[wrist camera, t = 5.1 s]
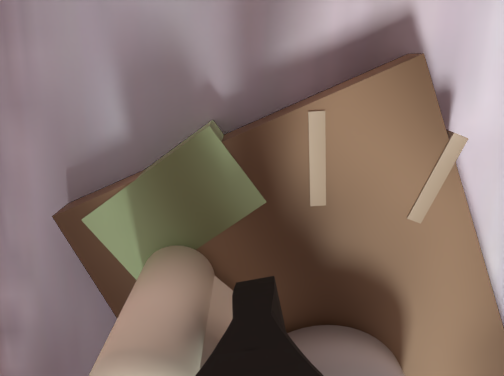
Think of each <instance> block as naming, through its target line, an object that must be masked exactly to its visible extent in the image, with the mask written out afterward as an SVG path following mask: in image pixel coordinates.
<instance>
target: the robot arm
mask: <svg viewBox="0 0 504 376" xmlns="http://www.w3.org/2000/svg"><path fill="white" fill-rule="evenodd" d="M232 312H233V319H232V321H231V323H230V324H229V326H228V328H227V330H226V331H225V333H224V335H223V336H222V338H221V339H220V341H219V343H218V344H217V346H216V347H215V349H214V351H213V352H212V354H211V355H210V356H209V358H208V359H207V361H206V362H205V363H204V365H203V366H202V368H201V369H200V370H199V371H198V373H197V374H196V375H195V376H324V375H323V374H322V373H321V372H320V371H319V370H318V369H317V368H316V367H315V366H314V365H313V364H312V363H311V362H310V361H309V360H308V359H307V357H306V356H305V355H304V354H303V353H302V352H301V351H300V349H299V348H298V347H297V346H296V344H295V343H294V342H293V340H292V339H291V338H290V336H289V335H288V334H287V332H286V329H285V324H284V319H283V314H282V310H281V305H280V300H279V296H278V291H277V286H276V282H275V277H274V276H270V277H264V278H259V279H253V280H248V281H242V282H237V283H236V284H235V287H234V290H233V294H232Z"/></svg>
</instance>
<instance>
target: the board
mask: <svg viewBox="0 0 504 376" xmlns="http://www.w3.org/2000/svg"><path fill="white" fill-rule="evenodd" d="M467 140H468V138H466V137H463V136H461V135H458V134H456V133H453V132H451V131H448V130H446V128H445V124H444V121H443V118H442V114H441V111H440V107H439V104H438V100H437V97H436V93H435V90H434V87H433V83H432V80H431V76H430V73H429V69H428V66H427V62H426V59H425V56H424V53H422V54H406V55H404V56H402V57H400V58H397V59H395V60H393V61H391V62H388V63H386V64H384V65H382V66H379V67H377V68H375V69H372V70H370V71H368V72H366V73H363V74H361V75H359V76H357V77H354V78H352V79H350V80H347V81H345V82H343V83H341V84H338V85H336V86H334V87H332V88H329V89H327V90H325V91H322V92H320V93H318V94H316V95H313V96H311V97H309V98H307V99H304V100H302V101H300V102H298V103H295V104H293V105H291V106H288V107H286V108H284V109H282V110H279V111H277V112H275V113H273V114H270V115H268V116H266V117H263V118H261V119H259V120H257V121H254V122H252V123H250V124H248V125H245V126H243V127H241V128H238V129H236V130H234V131H232V132H229V133H227V134H225V135H224V134H223V133H222V131H221V130H220V129H219V127H218V126H217V125H216V123H215V122H214V121H213V120H212V121H210V122H209V123H207V124H206V125H205V126H203V127H202V128H201V129H199V130H198V131H197V132H195V133H194V134H193V135H191V136H190V137H188V138H187V139H186V140H184V141H183V142H182V143H180V144H179V145H178V146H176V147H175V148H174V149H172V150H171V151H169V152H168V153H167V154H165V155H164V156H163V157H161V158H160V159H159V160H157V161H156V162H155V163H153V164H152V165H151V166H149V167H148V168H146V169H145V170H143V171H141V172H139V173H136V174H134V175H132V176H129V177H127V178H125V179H123V180H120V181H118V182H116V183H114V184H111V185H109V186H107V187H105V188H102V189H100V190H98V191H95V192H93V193H91V194H89V195H86V196H84V197H82V198H80V199H77V200H75V201H73V202H70V203H68V204H67V205H66V206H64V207H63V208H62V209H61V210H59V211H58V212H57V213H56V214H54V215H53V216H52V217H53V219H54V220H55V222H56V224H57V225H58V227H59V228H60V230H61V231H62V233H63V234H64V236H65V238H66V239H67V241H68V242H69V244H70V245H71V247H72V249H73V250H74V252H75V253H76V255H77V256H78V258H79V260H80V261H81V263H82V264H83V266H84V267H85V269H86V270H87V272H88V274H89V275H90V277H91V278H92V280H93V281H94V283H95V285H96V286H97V288H98V289H99V291H100V292H101V294H102V295H103V297H104V299H105V300H106V302H107V303H108V305H109V306H110V308H111V310H112V311H113V313H114V314H115V316H116V317H117V318H118V316H119V314H120V312H121V310H122V308H123V306H124V304H125V302H126V300H127V298H128V297H129V295H130V293H131V291H132V289H133V287H134V285H135V283H136V281H137V279H138V277H139V275H140V273H141V271H142V269H143V267H144V265H145V263H146V261H147V260H148V258H149V257H150V256H151V255H152V254H153V253H154V252H156V251H157V250H159V249H161V248H164V247H168V246H175V245H178V246H186V247H190V248H192V249H195V250H196V251H198V252H200V253H201V254H203V255H204V256H205V257H206V258H207V259H208V261H209V262H210V264H211V265H212V268H213V270H214V275H215V276H216V277H217V278H218V279H220V280H221V281H222V282H223V283H224V284H226V285H227V286H228V287H229V288H230V289H232V290H234V287H235V284H236V283H237V282H242V281H248V280H253V279H259V278H264V277H270V276H274V277H275V282H276V286H277V291H278V296H279V300H280V305H281V310H282V314H283V319H284V324H285V329H286V332H287V333H289V332H292V331H295V330H298V329H301V328H305V327H311V326H318V325H338V326H345V327H350V328H354V329H357V330H360V331H363V332H365V333H367V334H369V335H371V336H373V337H375V338H376V339H378V340H379V341H381V342H382V343H383V344H384V345H385V346H386V347H387V348H388V349H389V350H390V351H391V352H392V353H393V354H394V356H395V357H396V359H397V361H398V363H399V365H400V367H401V369H402V371H403V373H404V375H405V376H504V328H503V324H502V321H501V317H500V314H499V310H498V307H497V304H496V300H495V297H494V293H493V290H492V286H491V283H490V279H489V276H488V273H487V269H486V266H485V262H484V259H483V255H482V252H481V248H480V245H479V242H478V238H477V235H476V231H475V228H474V224H473V221H472V217H471V214H470V211H469V207H468V204H467V200H466V197H465V193H464V190H463V186H462V183H461V180H460V176H459V173H458V169H457V166H456V160H457V158H458V156H459V155H460V153H461V151H462V149H463V147H464V146H465V144H466V142H467Z"/></svg>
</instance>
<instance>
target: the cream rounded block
mask: <svg viewBox="0 0 504 376" xmlns="http://www.w3.org/2000/svg"><path fill="white" fill-rule="evenodd" d="M232 294H233V290H232V289H230V288H229V287H228V286H227V285H226V284H224V283H223V282H222V281H221V280H220V279H218V278H217V277H216V276H215V275H214V270H213V268H212V265H211V264H210V262H209V261H208V259H207V258H206V257H205V256H204V255H203V254H201V253H200V252H198V251H196V250H195V249H192V248H190V247H186V246H178V245H175V246H168V247H164V248H161V249H159V250H157V251H156V252H154V253H153V254H152V255H151V256H150V257H149V258H148V260H147V261H146V263H145V265H144V267H143V269H142V271H141V273H140V275H139V277H138V279H137V281H136V283H135V285H134V287H133V289H132V291H131V293H130V295H129V297H128V298H127V300H126V302H125V304H124V306H123V308H122V310H121V312H120V314H119V316H118V318H117V320H116V322H115V324H114V326H113V328H112V330H111V332H110V334H109V336H108V338H107V340H106V342H105V344H104V346H103V348H102V350H101V352H100V354H99V356H98V358H97V360H96V362H95V364H94V366H93V368H92V370H91V372H90V374H89V376H195V375H196V374H197V373H198V371H199V370H200V369H201V368H202V366H203V365H204V363H205V362H206V361H207V359H208V358H209V356H210V355H211V354H212V352H213V351H214V349H215V347H216V346H217V344H218V343H219V341H220V339H221V338H222V336H223V335H224V333H225V331H226V330H227V328H228V326H229V324H230V323H231V321H232V319H233V312H232ZM287 334H288V335H289V336H290V338H291V339H292V340H293V342H294V343H295V344H296V346H297V347H298V348H299V349H300V351H301V352H302V353H303V354H304V355H305V356H306V357H307V359H308V360H309V361H310V362H311V363H312V364H313V365H314V366H315V367H316V368H317V369H318V370H319V371H320V372H321V373H322V374H323V375H324V376H405V375H404V373H403V371H402V369H401V367H400V365H399V363H398V361H397V359H396V357H395V356H394V354H393V353H392V352H391V351H390V350H389V349H388V348H387V347H386V346H385V345H384V344H383V343H382V342H381V341H379V340H378V339H376V338H375V337H373V336H371V335H369V334H367V333H365V332H363V331H360V330H357V329H354V328H350V327H345V326H338V325H318V326H311V327H305V328H301V329H298V330H295V331H292V332H289V333H287Z"/></svg>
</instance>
